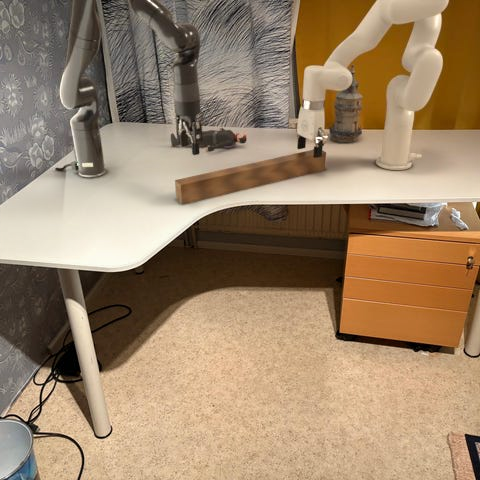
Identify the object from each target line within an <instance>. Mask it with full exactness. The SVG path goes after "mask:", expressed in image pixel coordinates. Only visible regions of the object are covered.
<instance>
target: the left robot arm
mask: <svg viewBox="0 0 480 480" xmlns="http://www.w3.org/2000/svg"><path fill="white" fill-rule="evenodd" d="M127 2H128V5H129V7H130V8H131V10H132V12H133V13H134V15H135V16H136V17H137V18H138V19H139V20H141V22H143V23H144V24H145V25H147V27H149V28H150V29H151V30H153V31H154V33H155V34H156V35H157V37H158V38H159V40H160V41H161V42H162V44H163V45H164V46H165V47H166V48H167V49H168V50H169V51H171V52H173V53H175V54H177V58H176V60H175V61H174V62H173V63H172V79H173V90H172V91H173V92H172V93H173V103H174V104H173V105H174V106H173V107H174V114H175V116H174V117H175V130H177V131H179V135H180V143H181V145H180V146H181V147H182V148H184V147H187V146H189V145H188V137H187V135H188V136H189V137H190V139H191V142H192V143H191V145H190V146H191V154H192V155H193V156H196V155H197V156H198V155H200V153H201V151H200V145H199V142H203V136H202V131H203V125H202V121H197V116H198V115H200V113H201V101H200V99H201V97H200V86H199V77H198V62H199V57H200V51H201V50H200V49H201V35H200V32H199V30H198V27H196V26H195V25H194V24H192V23H191V22H190V23H189V22H187V23H186V22H185V23H182V24H177V23H176V22H175V21H174V20H173V12H171V10H170V9H169V8H168V7H166V6H165V5H164V4H163V3H162V2H160V1H159V0H127ZM71 8H72V9H71V19H70V25H69V32H68V43H67V52H66V58H65V63H64V68H63V72H62V77H61V81H60V86H59V97H60V101H61V104H62V105H63V107H64V108H66V109H68V110H77V109H79V110H78V111H77V113H75V114H74V115H73V116H72V117H71V119H70V120H69V121H70V123H69V124H70V128H71V134H72V139H73V145H74V147H73V148H72V151H73V157H74V161H71V162H70V163H67V164H65V165H64V166H63V167H54V168H55V171H60V172H61V171H64V170H66V168H68V167H71V170H73V171H76V174H78V175H79V177H82V178H87V179H88V178H90V179H91V178H97V177H100V176H103V175H105V174H106V172H107V171H106V165H105V158H104V151H103V145H102V137H101V130H100V124H99V120H100V109H99V98H98V92H97V88H96V85H95V83H94V81H93V80H92V79H91V78H89V77H86V76H85V77H83V76H84V73H85V72H86V70H87V68H88V67H89V66H90V65H91V63H92V62H93V61H94V59H95V58H96V56H97V54H98V52H99V49H100V45H101V38H102V32H103V31H102V24H101V21H100V18H99V16H98V15H99V14H98V13H97V11H96V0H72V7H71ZM193 138H194V139H193Z"/></svg>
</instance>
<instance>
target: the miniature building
mask: <svg viewBox="0 0 480 480" xmlns="http://www.w3.org/2000/svg"><path fill="white" fill-rule="evenodd" d="M350 66H351V67H350V69H348V70H349V71H350V72H351V74H352V83H351V85H350V86H349V87H348V88H347V89H345V90H343V91H338V92H336V93H335V101H334V102H333V104H334V124H332V126H331V125H329V126H328V128H329V129H328V131H329V135H331V137H332V141H334V142H338V143H354V142H356V141H357V139H358V138H359V137H360V136H361V135H363V130H362V127H361V125H360V126H359V121H360V116H361V110H362V108H363V103H362V99H363V95H362V94H361V93H360V92H358V87H359V85H360V83H359V81H356V77H355V73H356V71H355V69H354V66H355V64H352V63H351V65H350Z"/></svg>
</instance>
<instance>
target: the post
mask: <svg viewBox="0 0 480 480" xmlns="http://www.w3.org/2000/svg"><path fill="white" fill-rule="evenodd" d="M313 155H314V149H310V150H306V151H301V152H296V153H291V154H287V155H282V156H279V157H273V158H269V159H265V160H260V161H256V162H251V163H246V164H242V165H237V166H232V167H228V168H224V169H219V170H214V171H211V172H210V171H209V172H206V173H205V172H204V173H201V174H195V175H192V176H187V177H183V178H179V179H175V180H174V185H175V196H176V197H175V199H176V201H177V202H178V203H180V204H181V205H186V204H190V203H191V204H192V203H194V202H199V201H202V200H206V199H211V198H216V197H219V196H223V195H227V194H232V193H235V192H240V191H244V190H248V189H251V188H256V187H261V186H264V185H269V184H273V183H277V182H282V181H285V180H290V179H293V178H298V177H301V176H302V177H303V176H306V175H310V174H315V173H318V172H323V171H325V170H326V161H327V160H326V159H327V152H326V151H325V150H323V149H322V156H321V157H317V158H314V157H313Z"/></svg>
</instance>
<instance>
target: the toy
mask: <svg viewBox="0 0 480 480" xmlns="http://www.w3.org/2000/svg"><path fill="white" fill-rule="evenodd" d="M175 130H176V129H175ZM202 136H203V142H199V146H207V147H204V148H203V151H204V152H205V153H209V152H210V153H211V152H213V151H215V150H217V149H221V148H226V149H229V148H233V147H234V146H235V145H236V144H237V143H238V144H241V145H244V144H245V143H247V139H248V138H247V134H245V133H241V132H240V133H234V132H233V131H232V130H231V129H224V128H223V127H219V130H214V129H209V130H204V131H203V130H202ZM187 137H188V146H192V145H191V143H192V142H191V139H190V137H189V136H188V135H187ZM193 139H194V138H193ZM170 143H171V146H172V147H173V148H174V147H177V146H181V143H180V135H179V131H177V130H176V135H175V133H173V132H171V134H170Z"/></svg>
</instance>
